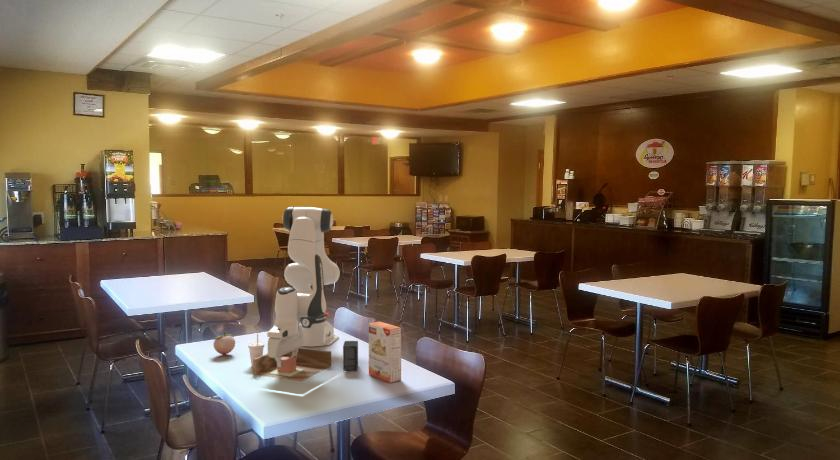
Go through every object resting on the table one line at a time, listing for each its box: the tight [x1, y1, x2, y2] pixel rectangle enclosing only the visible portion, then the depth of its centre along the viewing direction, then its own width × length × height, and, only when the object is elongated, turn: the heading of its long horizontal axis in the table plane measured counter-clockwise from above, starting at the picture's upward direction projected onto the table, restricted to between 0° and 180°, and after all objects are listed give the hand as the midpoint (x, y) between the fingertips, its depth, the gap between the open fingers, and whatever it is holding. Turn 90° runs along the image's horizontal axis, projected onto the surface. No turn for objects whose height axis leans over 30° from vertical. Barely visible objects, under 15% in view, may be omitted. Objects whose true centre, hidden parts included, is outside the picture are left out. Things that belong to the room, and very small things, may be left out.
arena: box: [252, 347, 332, 382], centre depth 238 cm, size 22×22×7 cm
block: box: [277, 357, 296, 373], centre depth 236 cm, size 6×4×5 cm, turn 69°
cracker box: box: [368, 321, 402, 384], centre depth 231 cm, size 14×6×21 cm, turn 40°
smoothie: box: [247, 333, 265, 368], centre depth 243 cm, size 6×6×14 cm
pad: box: [269, 368, 305, 377], centre depth 236 cm, size 10×10×1 cm
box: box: [342, 340, 359, 372], centre depth 243 cm, size 8×6×11 cm
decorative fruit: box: [213, 332, 236, 356], centre depth 261 cm, size 9×8×10 cm
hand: (286, 363), depth 236 cm, fingers open, 8 cm apart
